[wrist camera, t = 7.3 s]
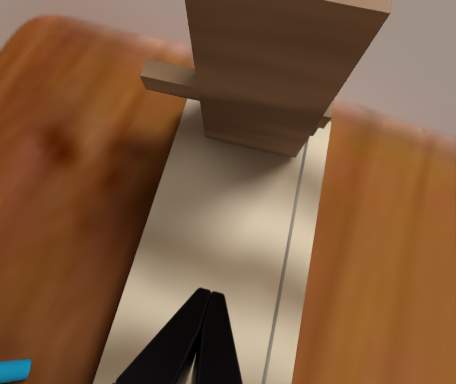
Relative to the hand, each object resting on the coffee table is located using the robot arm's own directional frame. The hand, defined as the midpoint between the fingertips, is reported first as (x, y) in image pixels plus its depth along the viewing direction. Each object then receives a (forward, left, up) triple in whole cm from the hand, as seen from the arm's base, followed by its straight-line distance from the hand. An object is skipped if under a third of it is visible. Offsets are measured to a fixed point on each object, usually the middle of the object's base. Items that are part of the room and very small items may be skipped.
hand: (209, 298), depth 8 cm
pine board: (0, 0, -9) cm, 9 cm away
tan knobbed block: (+10, -4, -7) cm, 13 cm away
